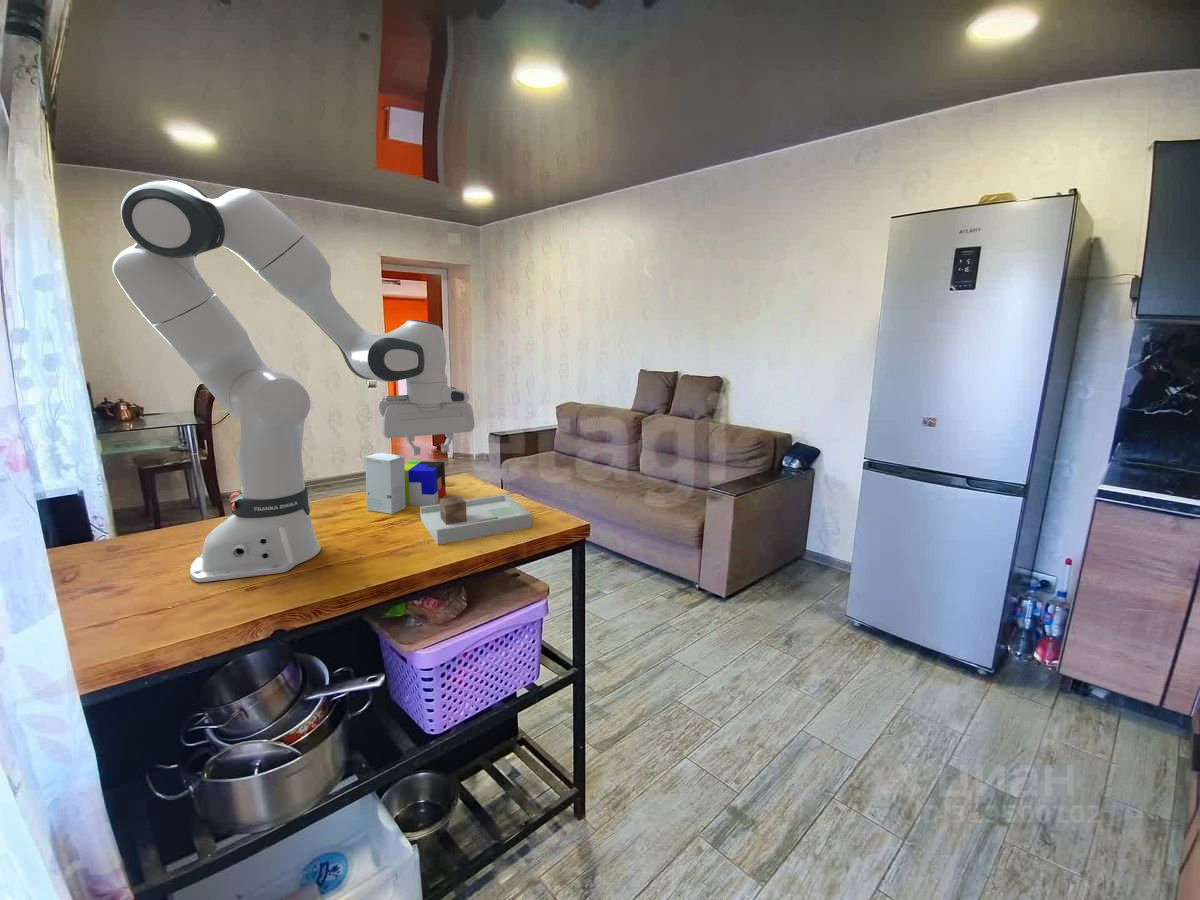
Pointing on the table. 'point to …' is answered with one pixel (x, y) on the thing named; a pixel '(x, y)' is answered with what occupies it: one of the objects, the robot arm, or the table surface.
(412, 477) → the puzzle toy
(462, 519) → the walnut block
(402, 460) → the skincare box
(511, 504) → the platform
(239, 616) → the table surface
